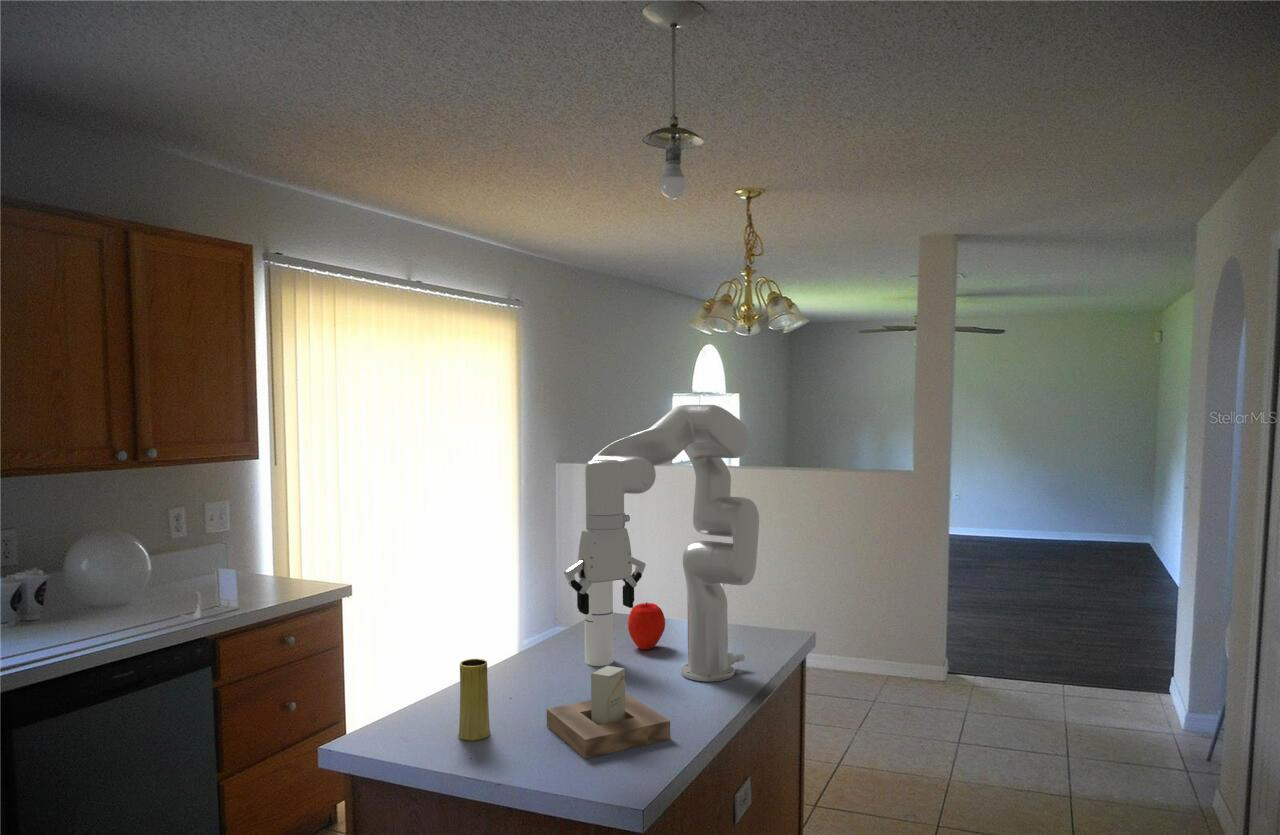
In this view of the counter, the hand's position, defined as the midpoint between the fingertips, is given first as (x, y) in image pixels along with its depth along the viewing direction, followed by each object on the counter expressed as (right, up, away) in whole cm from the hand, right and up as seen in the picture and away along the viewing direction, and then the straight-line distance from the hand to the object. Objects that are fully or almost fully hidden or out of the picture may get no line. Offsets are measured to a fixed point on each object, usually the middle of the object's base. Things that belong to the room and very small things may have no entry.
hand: (606, 609), depth 165 cm
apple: (+8, -24, +57) cm, 63 cm away
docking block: (0, -24, 0) cm, 24 cm away
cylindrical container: (-4, -24, +46) cm, 52 cm away
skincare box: (0, -24, 0) cm, 24 cm away
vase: (-26, -25, 0) cm, 36 cm away
